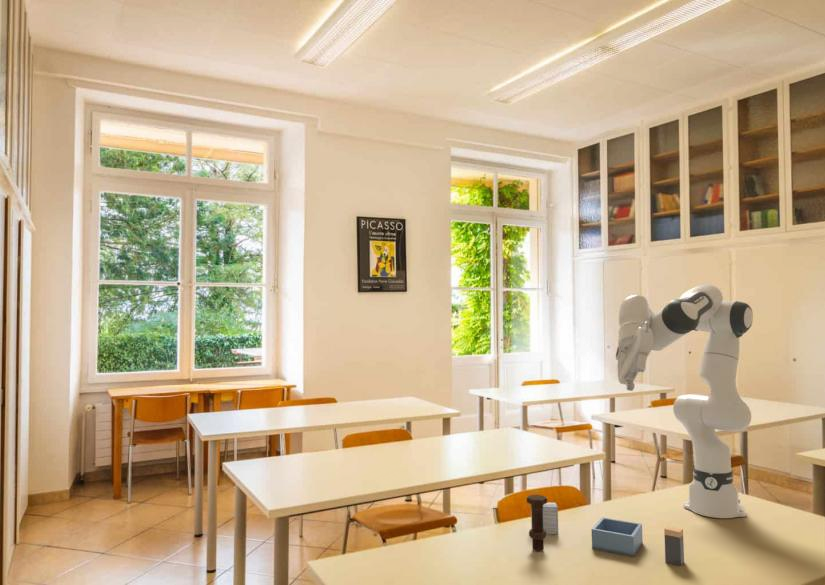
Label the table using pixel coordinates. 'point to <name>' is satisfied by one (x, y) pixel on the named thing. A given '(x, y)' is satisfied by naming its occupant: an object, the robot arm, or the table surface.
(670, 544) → the block
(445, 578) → the table surface
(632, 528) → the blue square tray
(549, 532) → the medicine box
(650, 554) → the table surface
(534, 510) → the bolt
